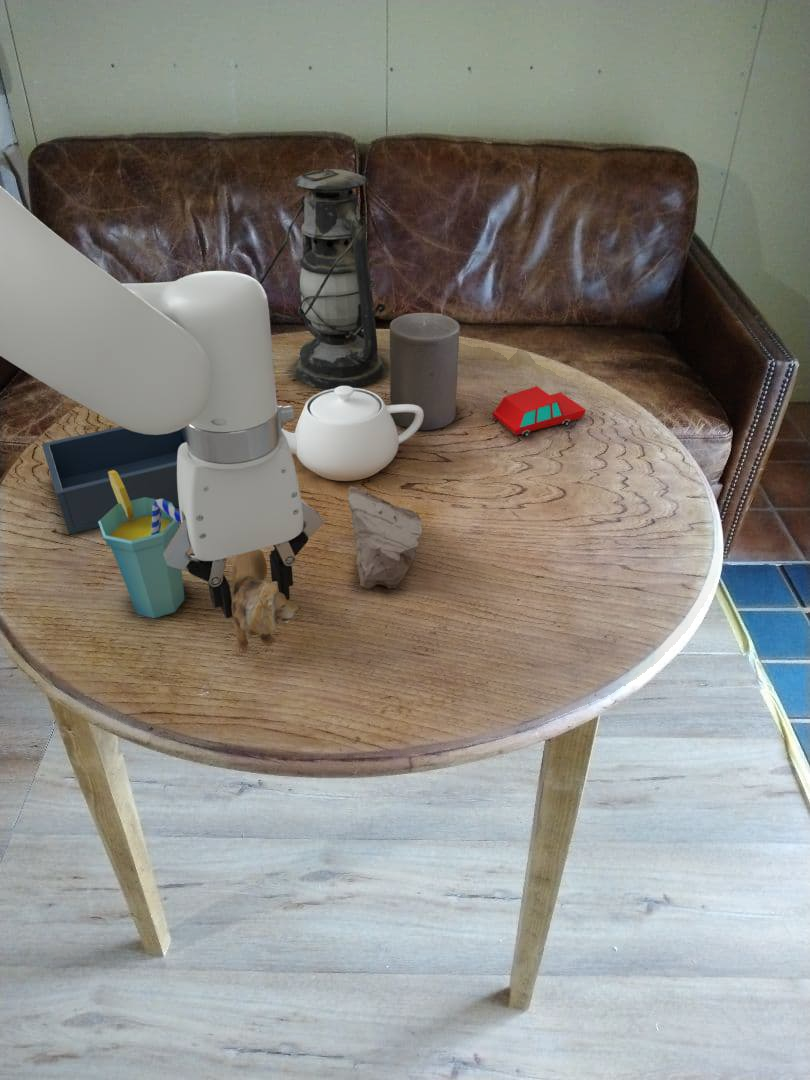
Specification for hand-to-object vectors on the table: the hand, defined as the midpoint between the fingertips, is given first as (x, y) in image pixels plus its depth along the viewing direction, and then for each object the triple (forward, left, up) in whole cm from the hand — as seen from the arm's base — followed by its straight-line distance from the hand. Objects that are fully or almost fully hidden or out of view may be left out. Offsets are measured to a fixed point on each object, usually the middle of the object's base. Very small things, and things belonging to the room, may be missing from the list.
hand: (253, 599), depth 76 cm
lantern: (+30, +53, -6) cm, 61 cm away
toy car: (+51, +25, -6) cm, 57 cm away
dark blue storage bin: (-5, +33, -5) cm, 34 cm away
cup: (-7, +10, -6) cm, 13 cm away
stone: (+17, +6, -6) cm, 19 cm away
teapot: (+21, +27, -6) cm, 34 cm away
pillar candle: (+37, +34, -6) cm, 50 cm away
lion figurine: (0, 0, -4) cm, 4 cm away
